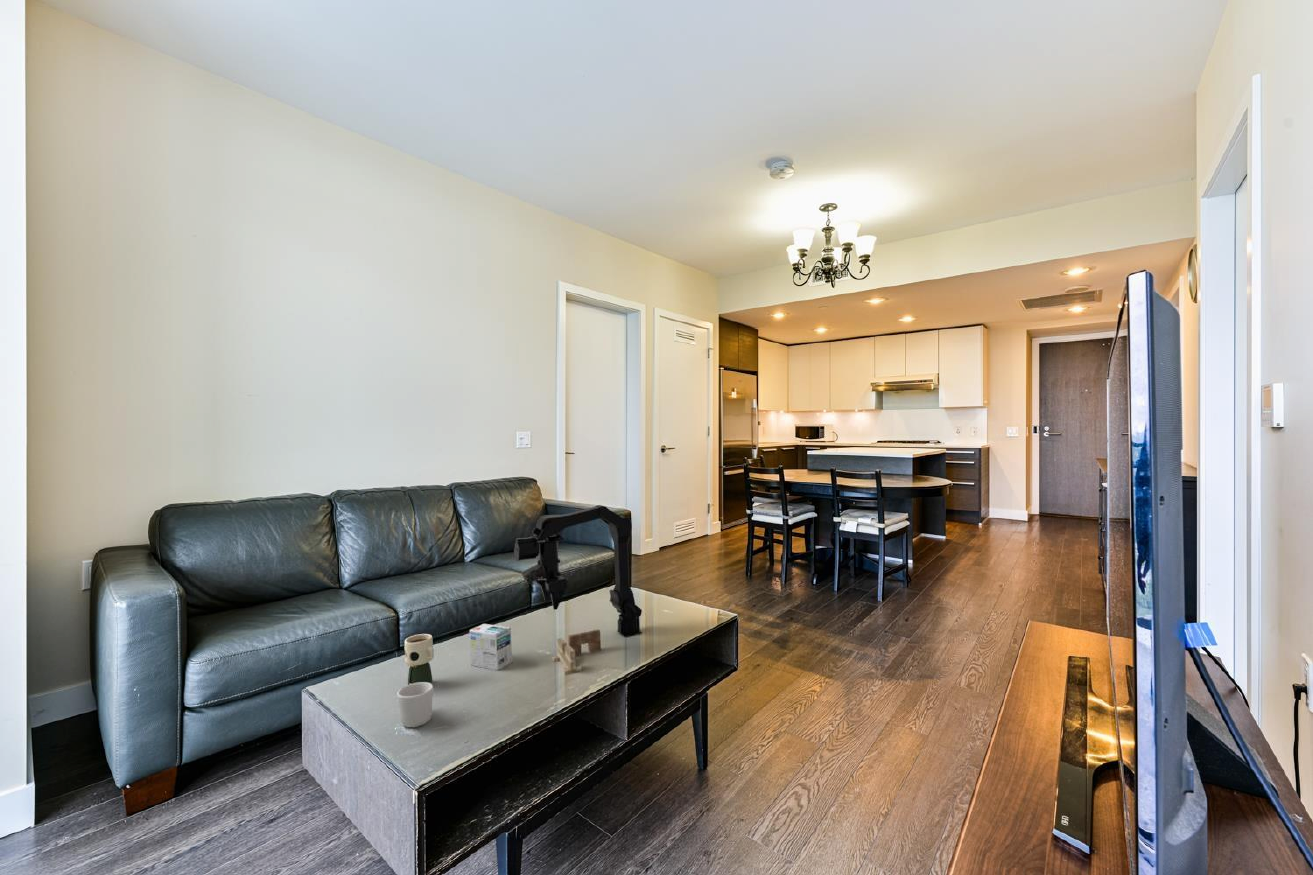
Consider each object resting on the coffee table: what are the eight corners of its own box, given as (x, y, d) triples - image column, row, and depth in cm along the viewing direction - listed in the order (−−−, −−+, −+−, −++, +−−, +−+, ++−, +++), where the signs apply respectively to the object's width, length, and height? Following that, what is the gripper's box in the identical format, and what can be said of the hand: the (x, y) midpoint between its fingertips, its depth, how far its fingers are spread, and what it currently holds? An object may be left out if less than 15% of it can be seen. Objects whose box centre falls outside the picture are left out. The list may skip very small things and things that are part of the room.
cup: (409, 709, 138) (408, 677, 138) (442, 707, 139) (441, 675, 139) (392, 732, 128) (391, 698, 128) (428, 729, 128) (426, 695, 128)
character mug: (395, 687, 151) (393, 640, 151) (417, 676, 158) (415, 631, 158) (423, 694, 146) (421, 645, 146) (444, 683, 153) (442, 636, 153)
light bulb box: (513, 662, 166) (511, 626, 166) (497, 671, 160) (496, 634, 160) (485, 657, 170) (484, 622, 170) (469, 665, 164) (468, 629, 164)
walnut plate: (599, 648, 174) (598, 629, 174) (600, 649, 173) (600, 630, 173) (568, 655, 170) (568, 635, 170) (570, 656, 168) (569, 637, 168)
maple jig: (568, 656, 169) (567, 636, 169) (581, 670, 158) (580, 649, 158) (552, 659, 166) (551, 639, 166) (564, 674, 156) (564, 653, 156)
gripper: (516, 554, 178) (518, 602, 178) (531, 565, 162) (533, 618, 162) (549, 549, 183) (552, 596, 184) (567, 560, 167) (570, 611, 167)
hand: (551, 605), depth 174 cm, fingers open, 9 cm apart
